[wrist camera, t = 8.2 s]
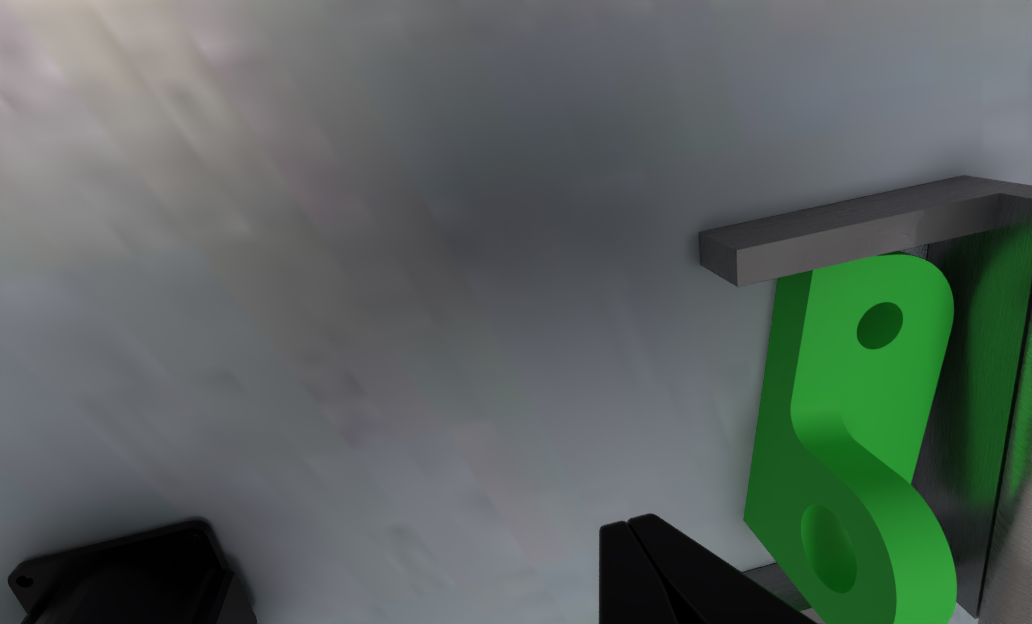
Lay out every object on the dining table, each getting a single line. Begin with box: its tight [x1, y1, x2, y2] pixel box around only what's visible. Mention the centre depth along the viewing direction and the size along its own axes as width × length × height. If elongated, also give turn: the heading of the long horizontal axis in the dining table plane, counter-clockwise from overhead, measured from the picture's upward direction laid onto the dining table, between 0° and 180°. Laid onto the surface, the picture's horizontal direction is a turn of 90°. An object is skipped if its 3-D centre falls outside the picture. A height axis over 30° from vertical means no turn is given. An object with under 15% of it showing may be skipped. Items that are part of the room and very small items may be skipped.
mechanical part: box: [743, 251, 957, 624], centre depth 20 cm, size 12×6×8 cm, turn 1°
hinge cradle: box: [699, 175, 1032, 624], centre depth 21 cm, size 15×17×6 cm
